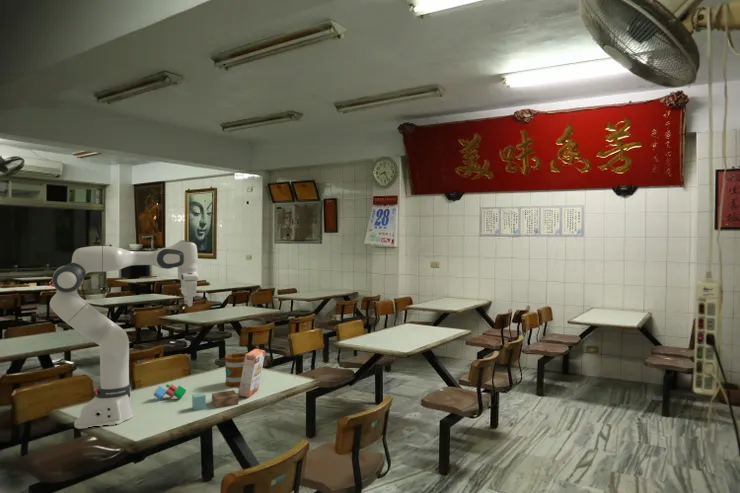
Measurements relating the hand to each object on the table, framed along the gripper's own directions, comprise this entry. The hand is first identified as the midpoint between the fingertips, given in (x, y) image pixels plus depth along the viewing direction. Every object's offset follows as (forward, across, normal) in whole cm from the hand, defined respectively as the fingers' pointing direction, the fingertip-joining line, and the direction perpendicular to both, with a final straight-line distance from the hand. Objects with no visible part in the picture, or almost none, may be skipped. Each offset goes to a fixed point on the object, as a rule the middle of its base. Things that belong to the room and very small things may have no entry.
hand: (188, 305), depth 228 cm
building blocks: (+47, -16, -7) cm, 51 cm away
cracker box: (+47, -5, +29) cm, 55 cm away
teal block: (+47, +5, +3) cm, 48 cm away
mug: (+47, -23, +29) cm, 60 cm away
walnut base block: (+47, +4, +15) cm, 50 cm away
